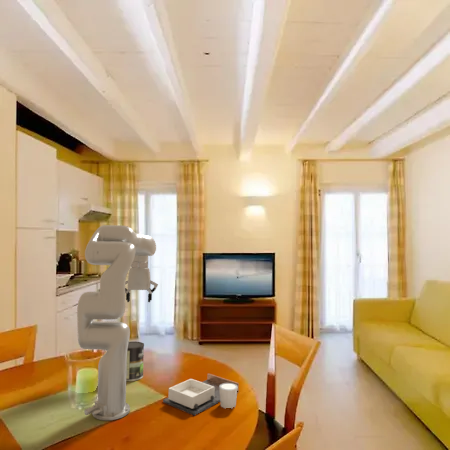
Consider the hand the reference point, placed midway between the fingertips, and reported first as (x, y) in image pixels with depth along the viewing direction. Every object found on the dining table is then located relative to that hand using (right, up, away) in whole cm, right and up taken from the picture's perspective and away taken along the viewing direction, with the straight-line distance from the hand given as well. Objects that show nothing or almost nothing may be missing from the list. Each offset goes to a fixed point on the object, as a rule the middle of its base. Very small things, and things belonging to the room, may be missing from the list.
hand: (138, 301), depth 177 cm
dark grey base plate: (+32, -31, -31) cm, 54 cm away
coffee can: (-1, -31, -12) cm, 33 cm away
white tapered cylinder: (+42, -31, -38) cm, 64 cm away
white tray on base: (+28, -29, -36) cm, 54 cm away
